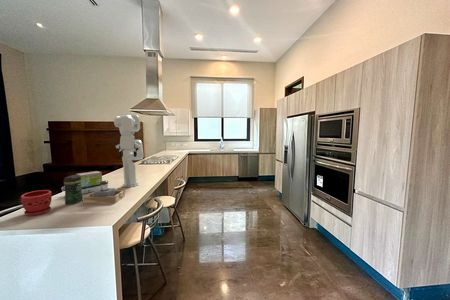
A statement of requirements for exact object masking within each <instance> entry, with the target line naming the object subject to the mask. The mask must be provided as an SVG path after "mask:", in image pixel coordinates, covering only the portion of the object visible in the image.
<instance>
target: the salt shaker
mask: <svg viewBox="0 0 450 300" xmlns="http://www.w3.org/2000/svg"><path fill="white" fill-rule="evenodd" d="M100 184H101V191H108V188H109V180H102V181H101V182H100Z"/></svg>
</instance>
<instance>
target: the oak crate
mask: <svg viewBox="0 0 450 300" xmlns="http://www.w3.org/2000/svg"><path fill="white" fill-rule="evenodd" d="M94 192H95V191H93V192H90V193H89V194H88V195H87V194H86V195H85V196H84V197H83V196H82V198H83V200H82V201H83V202H82V203H83V205H105V204H109V205H110V204H117V203H118V202H119V201H121V200H122V199H123V198H125V190H115V196H105V197H94Z"/></svg>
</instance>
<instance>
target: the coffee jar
mask: <svg viewBox="0 0 450 300" xmlns="http://www.w3.org/2000/svg"><path fill="white" fill-rule="evenodd" d="M63 185H64V194H65V195H64V203H65V205H69V206H70V205H76V204H79V203H80V202H82V201H83V194H82V191H81V176H80V175H76V174H72V175H69V176H66V177H64V178H63Z"/></svg>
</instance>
